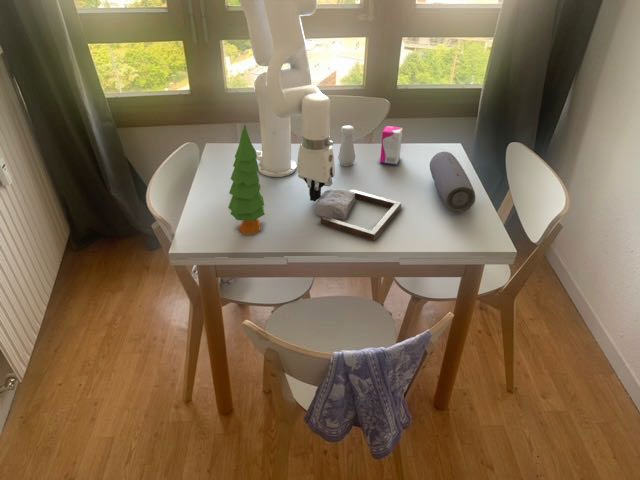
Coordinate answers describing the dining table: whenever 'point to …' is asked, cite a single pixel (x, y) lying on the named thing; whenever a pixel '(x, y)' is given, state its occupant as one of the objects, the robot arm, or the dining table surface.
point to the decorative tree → (246, 187)
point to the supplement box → (391, 145)
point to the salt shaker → (347, 146)
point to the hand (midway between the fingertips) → (315, 199)
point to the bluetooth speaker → (452, 182)
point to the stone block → (335, 203)
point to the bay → (361, 231)
